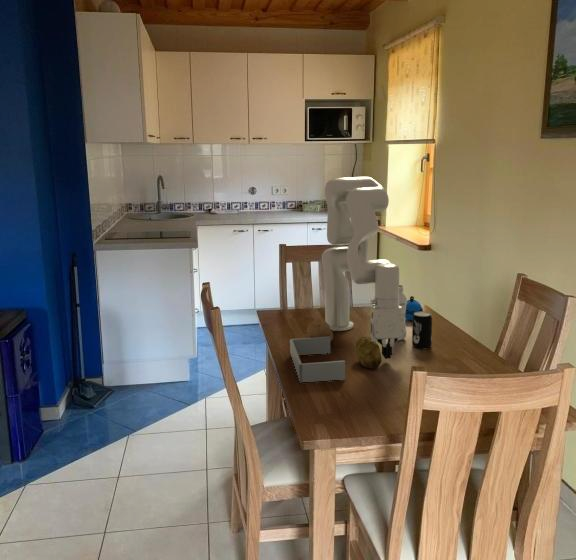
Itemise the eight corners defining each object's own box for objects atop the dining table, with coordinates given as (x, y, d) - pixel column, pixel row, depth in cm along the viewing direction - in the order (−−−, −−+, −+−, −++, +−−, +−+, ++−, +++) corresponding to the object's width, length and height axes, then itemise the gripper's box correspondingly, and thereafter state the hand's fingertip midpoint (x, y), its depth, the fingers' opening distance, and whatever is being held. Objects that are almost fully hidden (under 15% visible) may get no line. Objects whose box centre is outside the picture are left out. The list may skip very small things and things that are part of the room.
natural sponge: (302, 343, 202) (302, 317, 200) (325, 340, 205) (325, 314, 203) (312, 351, 194) (311, 324, 192) (335, 348, 197) (335, 320, 195)
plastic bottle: (384, 338, 205) (384, 285, 201) (399, 335, 208) (400, 283, 204) (394, 343, 200) (394, 289, 195) (410, 340, 202) (411, 286, 198)
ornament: (410, 324, 221) (411, 300, 219) (396, 319, 228) (396, 295, 226) (427, 320, 225) (427, 296, 223) (412, 316, 232) (413, 292, 230)
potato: (355, 371, 176) (354, 346, 174) (356, 356, 188) (355, 334, 186) (381, 371, 174) (381, 346, 173) (381, 356, 187) (380, 333, 185)
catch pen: (290, 355, 191) (289, 339, 189) (330, 353, 192) (329, 336, 191) (299, 383, 167) (299, 364, 166) (345, 380, 169) (345, 361, 168)
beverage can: (431, 350, 192) (432, 316, 189) (412, 349, 193) (412, 316, 191) (431, 343, 198) (431, 311, 196) (412, 343, 200) (412, 310, 197)
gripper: (367, 307, 173) (367, 363, 177) (413, 304, 175) (413, 359, 179) (361, 301, 181) (361, 355, 184) (405, 298, 182) (405, 351, 186)
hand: (386, 357), depth 182 cm, fingers closed
